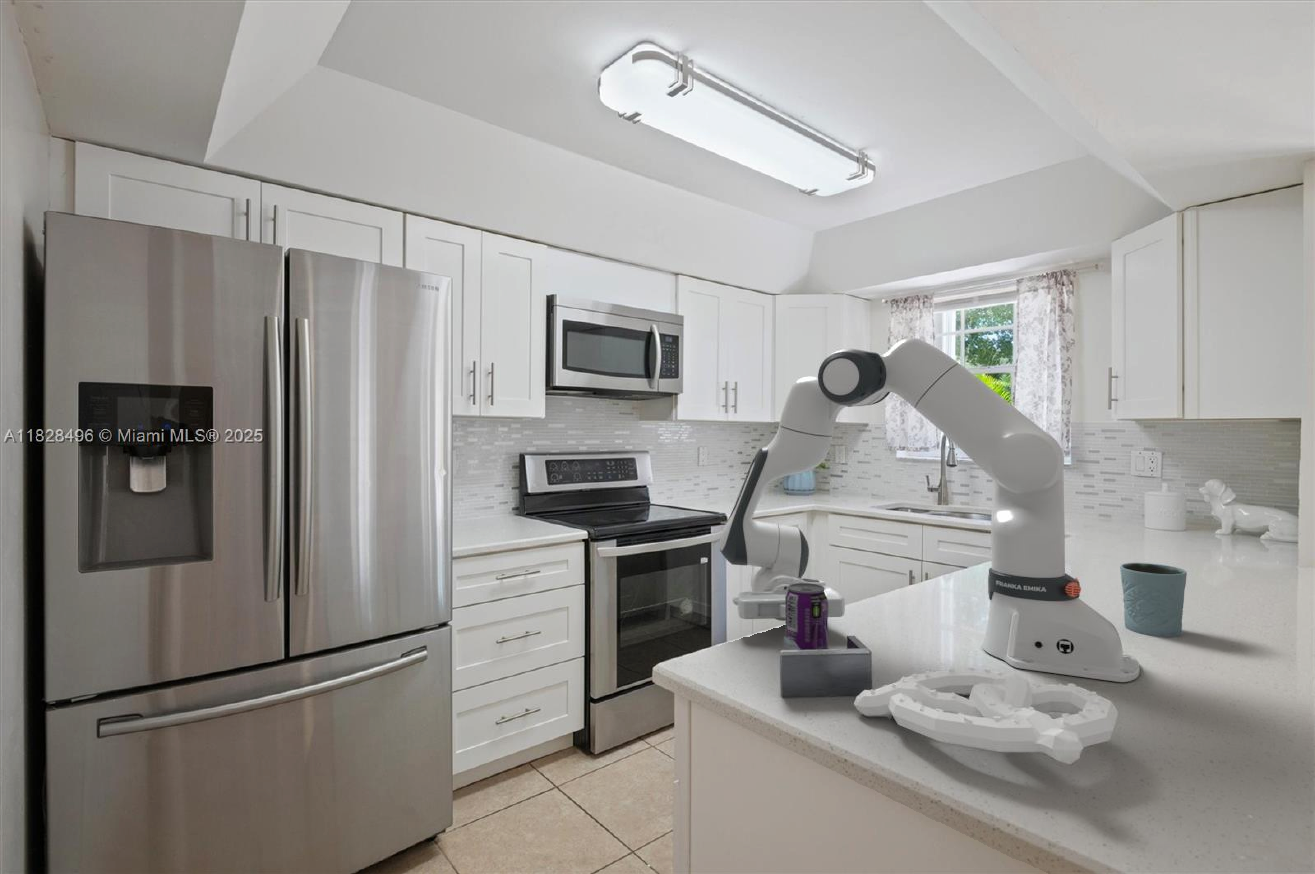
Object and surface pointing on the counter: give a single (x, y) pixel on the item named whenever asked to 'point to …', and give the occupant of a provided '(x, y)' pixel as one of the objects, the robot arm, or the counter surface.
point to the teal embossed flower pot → (1153, 598)
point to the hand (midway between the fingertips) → (799, 616)
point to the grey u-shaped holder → (825, 670)
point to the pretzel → (994, 712)
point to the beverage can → (807, 616)
